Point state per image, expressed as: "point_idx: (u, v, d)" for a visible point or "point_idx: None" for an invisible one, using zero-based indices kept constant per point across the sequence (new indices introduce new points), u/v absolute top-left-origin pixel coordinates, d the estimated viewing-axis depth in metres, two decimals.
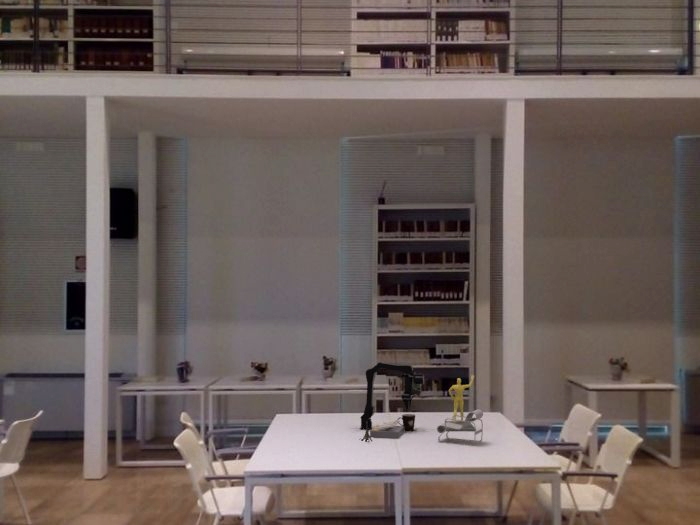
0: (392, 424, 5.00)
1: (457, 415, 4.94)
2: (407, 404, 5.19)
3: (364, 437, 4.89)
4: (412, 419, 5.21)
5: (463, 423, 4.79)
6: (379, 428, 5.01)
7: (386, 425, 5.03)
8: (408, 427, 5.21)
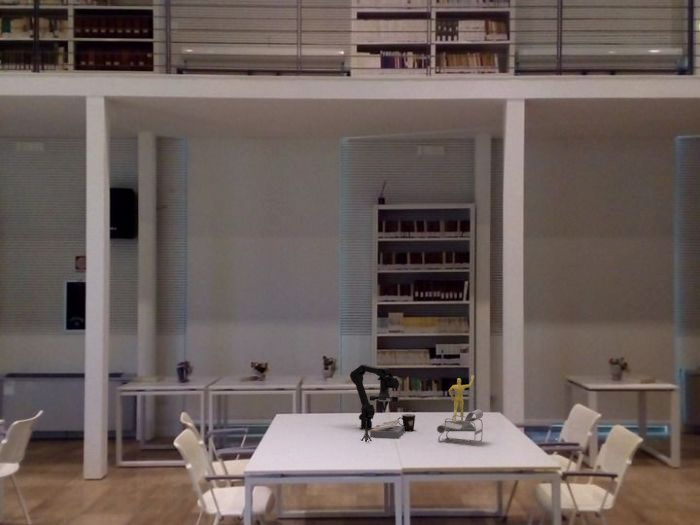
0: (392, 424, 5.00)
1: (457, 415, 4.94)
2: None
3: (363, 437, 4.89)
4: (412, 419, 5.21)
5: (463, 423, 4.79)
6: (379, 428, 5.01)
7: (386, 425, 5.03)
8: (408, 427, 5.21)
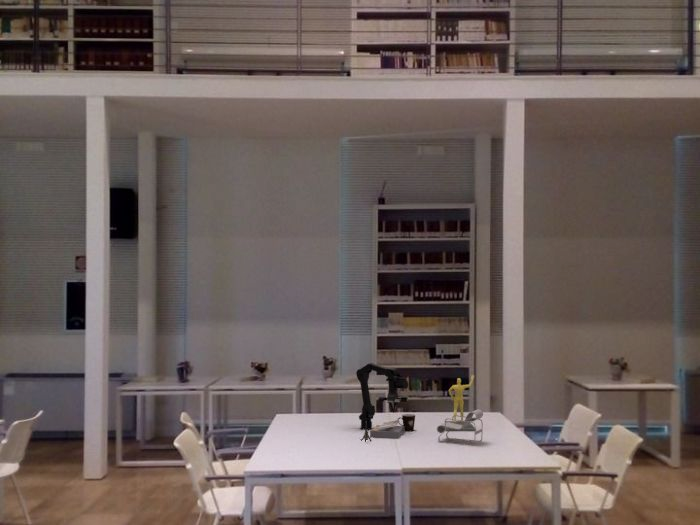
0: (392, 424, 5.00)
1: (457, 415, 4.94)
2: None
3: (363, 437, 4.89)
4: (412, 419, 5.21)
5: (463, 423, 4.79)
6: (379, 428, 5.01)
7: (386, 425, 5.03)
8: (408, 427, 5.21)
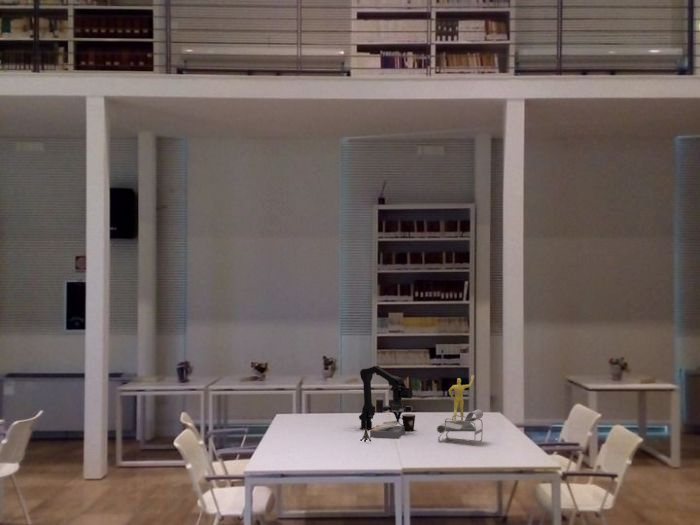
0: (392, 424, 5.00)
1: (457, 415, 4.94)
2: None
3: (363, 437, 4.89)
4: (412, 419, 5.21)
5: (463, 423, 4.79)
6: (379, 428, 5.01)
7: (386, 425, 5.03)
8: (408, 427, 5.21)
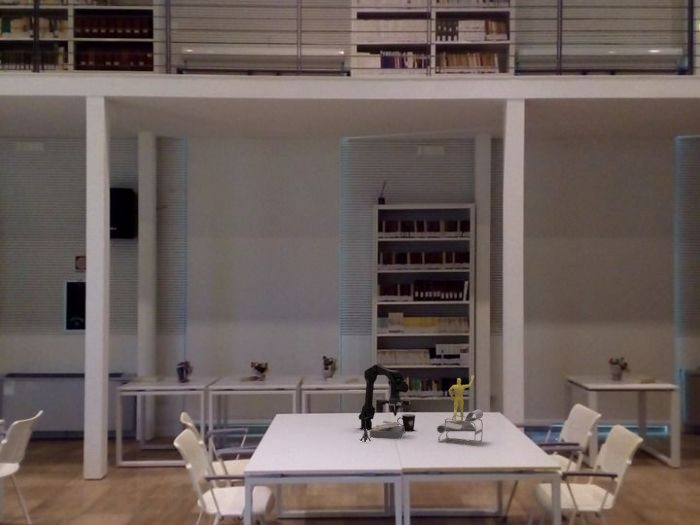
0: (392, 424, 5.00)
1: (457, 415, 4.94)
2: None
3: (363, 437, 4.89)
4: (412, 419, 5.21)
5: (463, 423, 4.79)
6: (379, 428, 5.01)
7: (386, 425, 5.03)
8: (408, 427, 5.21)
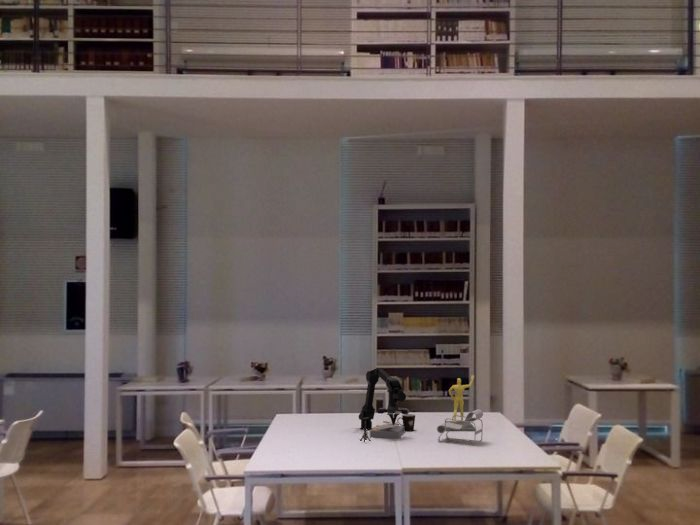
0: (392, 424, 5.00)
1: (457, 415, 4.94)
2: None
3: (362, 437, 4.89)
4: (412, 419, 5.21)
5: (463, 423, 4.79)
6: (379, 428, 5.01)
7: (386, 425, 5.03)
8: (408, 427, 5.21)
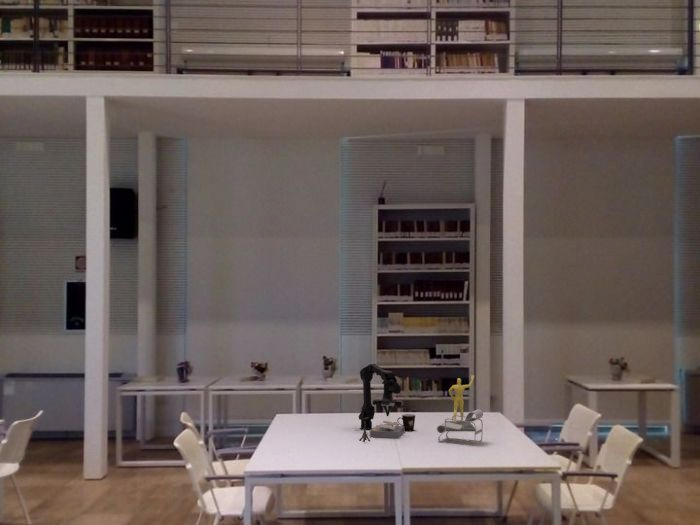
0: (392, 426, 5.00)
1: (457, 415, 4.94)
2: None
3: (362, 437, 4.89)
4: (412, 419, 5.21)
5: (463, 423, 4.79)
6: (379, 425, 5.01)
7: (386, 425, 5.03)
8: (408, 427, 5.21)
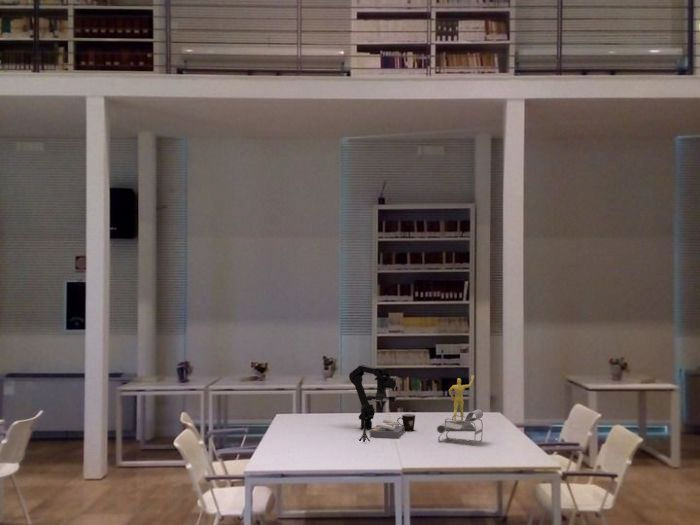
0: (392, 426, 5.00)
1: (457, 415, 4.94)
2: None
3: (361, 437, 4.89)
4: (412, 419, 5.21)
5: (463, 423, 4.79)
6: (379, 425, 5.01)
7: (386, 425, 5.03)
8: (408, 427, 5.21)
